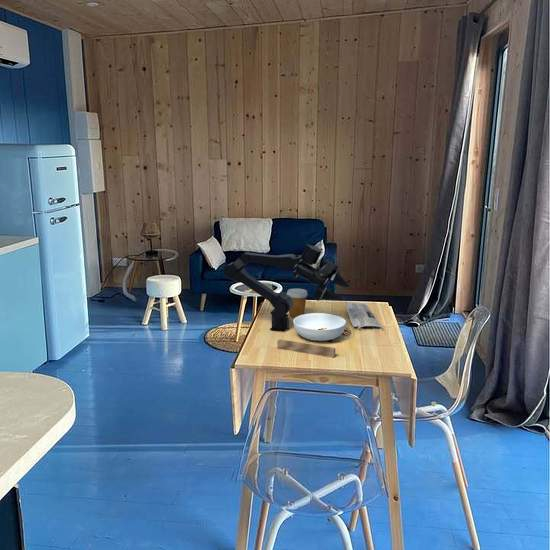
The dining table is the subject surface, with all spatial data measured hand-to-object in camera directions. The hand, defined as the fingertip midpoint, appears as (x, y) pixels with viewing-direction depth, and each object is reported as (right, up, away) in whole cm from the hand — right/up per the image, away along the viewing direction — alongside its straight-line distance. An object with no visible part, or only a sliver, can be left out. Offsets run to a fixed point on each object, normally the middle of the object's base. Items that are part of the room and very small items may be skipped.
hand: (345, 292), depth 206 cm
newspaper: (+11, -13, +28) cm, 33 cm away
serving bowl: (-10, -18, +3) cm, 21 cm away
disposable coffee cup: (-18, -12, +28) cm, 36 cm away
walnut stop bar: (-16, -21, -14) cm, 30 cm away
